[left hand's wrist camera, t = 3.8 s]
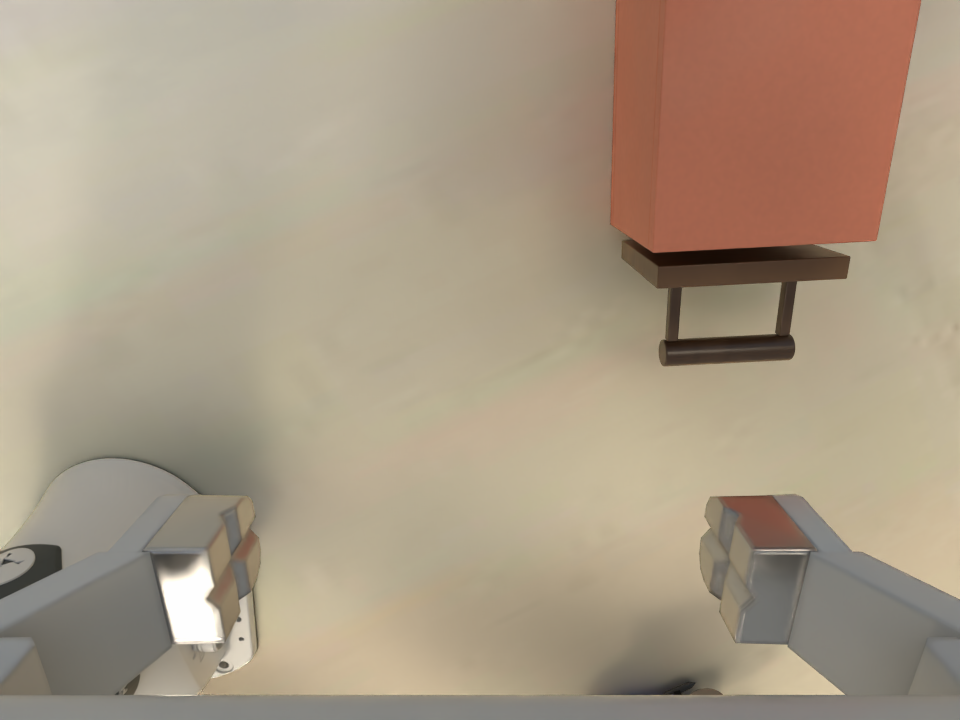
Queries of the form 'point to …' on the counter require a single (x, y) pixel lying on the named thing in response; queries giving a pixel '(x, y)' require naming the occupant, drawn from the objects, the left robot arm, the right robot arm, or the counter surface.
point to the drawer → (732, 270)
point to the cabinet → (755, 120)
